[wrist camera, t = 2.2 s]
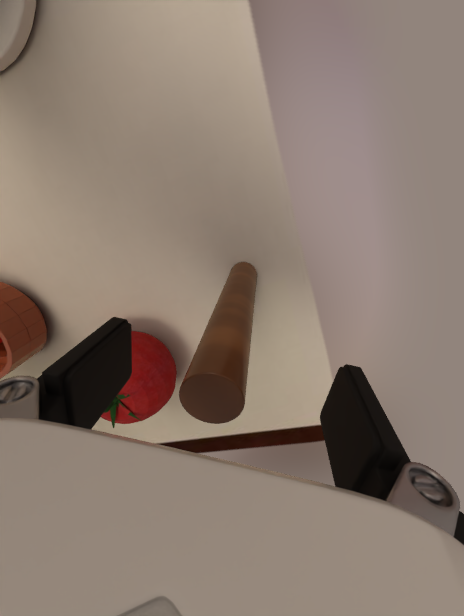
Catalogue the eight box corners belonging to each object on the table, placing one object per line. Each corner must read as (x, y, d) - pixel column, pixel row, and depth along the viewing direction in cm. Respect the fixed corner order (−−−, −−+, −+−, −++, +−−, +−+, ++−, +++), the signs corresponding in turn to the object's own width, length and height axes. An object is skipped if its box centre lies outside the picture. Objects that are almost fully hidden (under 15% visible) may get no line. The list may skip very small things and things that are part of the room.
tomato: (201, 370, 28) (178, 433, 20) (139, 394, 30) (99, 458, 23) (154, 303, 25) (109, 349, 18) (90, 336, 28) (28, 388, 20)
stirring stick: (241, 256, 22) (204, 360, 8) (262, 273, 22) (258, 399, 9) (224, 276, 23) (166, 399, 9) (245, 293, 23) (217, 433, 10)
